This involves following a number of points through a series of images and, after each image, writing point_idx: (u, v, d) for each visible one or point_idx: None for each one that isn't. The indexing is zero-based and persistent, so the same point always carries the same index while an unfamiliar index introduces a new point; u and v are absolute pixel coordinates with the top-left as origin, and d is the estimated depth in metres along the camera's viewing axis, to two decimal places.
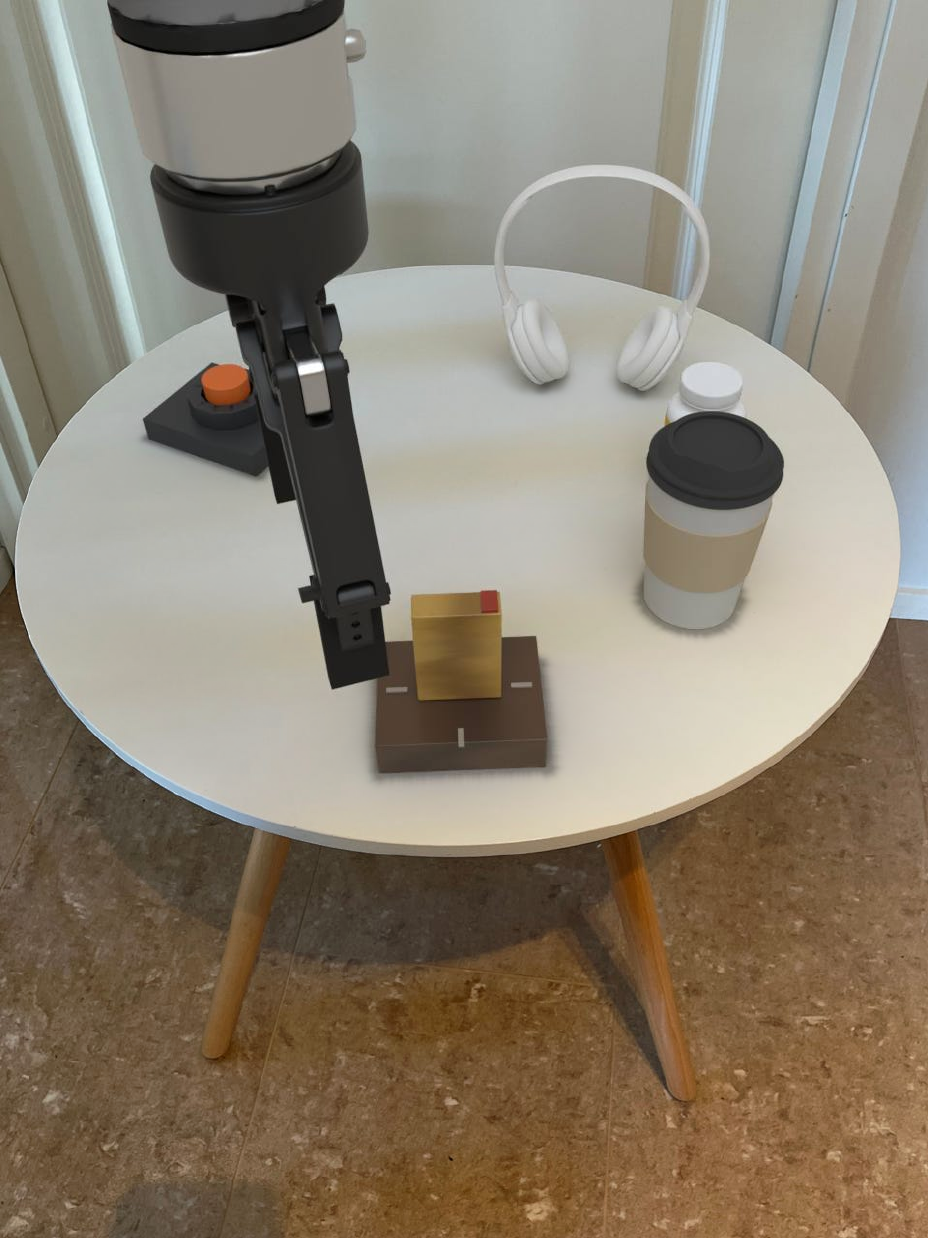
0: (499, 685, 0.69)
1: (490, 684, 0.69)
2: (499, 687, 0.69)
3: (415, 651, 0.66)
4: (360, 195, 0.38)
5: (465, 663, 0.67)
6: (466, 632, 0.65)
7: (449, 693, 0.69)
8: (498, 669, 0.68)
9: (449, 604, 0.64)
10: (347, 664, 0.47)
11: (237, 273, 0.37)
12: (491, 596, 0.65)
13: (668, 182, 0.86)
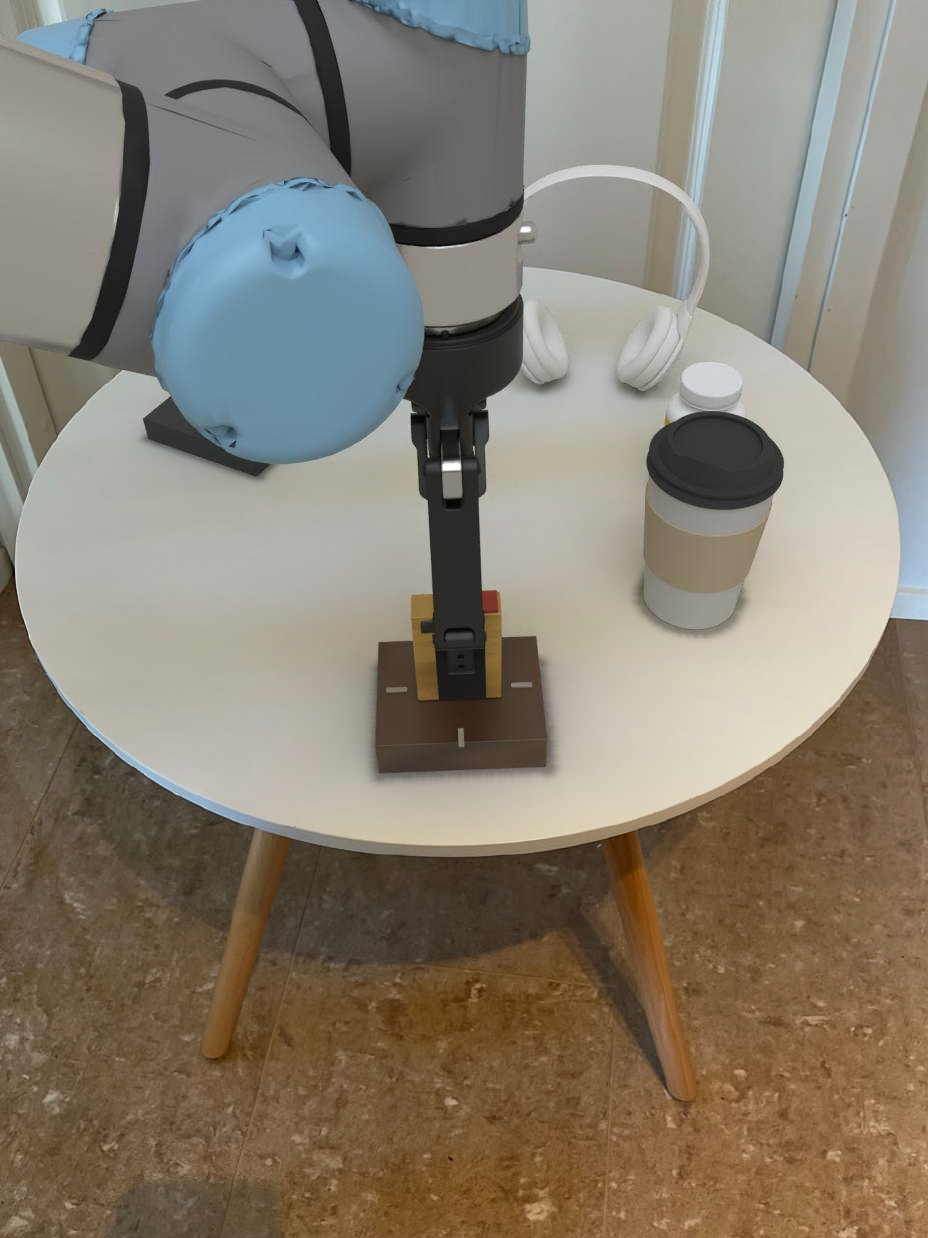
0: (499, 685, 0.69)
1: (490, 684, 0.69)
2: (499, 687, 0.69)
3: (415, 651, 0.66)
4: (516, 340, 0.49)
5: None
6: None
7: None
8: (498, 669, 0.68)
9: None
10: (453, 684, 0.59)
11: (412, 387, 0.49)
12: (491, 596, 0.65)
13: (668, 182, 0.86)
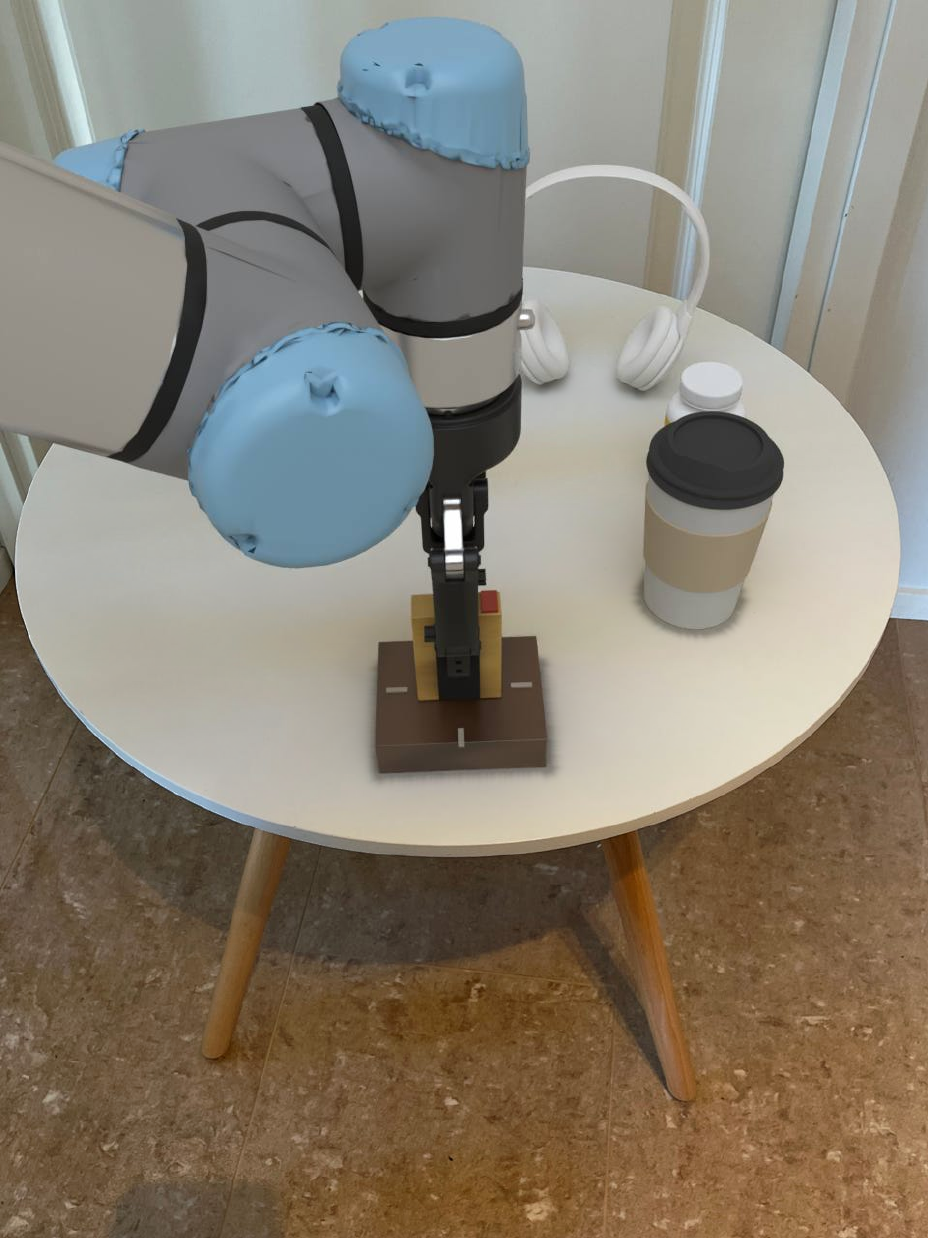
0: (499, 685, 0.69)
1: (490, 684, 0.69)
2: (499, 687, 0.69)
3: (415, 651, 0.66)
4: (514, 417, 0.52)
5: None
6: None
7: None
8: (498, 669, 0.68)
9: None
10: (451, 686, 0.67)
11: None
12: (491, 596, 0.65)
13: (668, 182, 0.86)
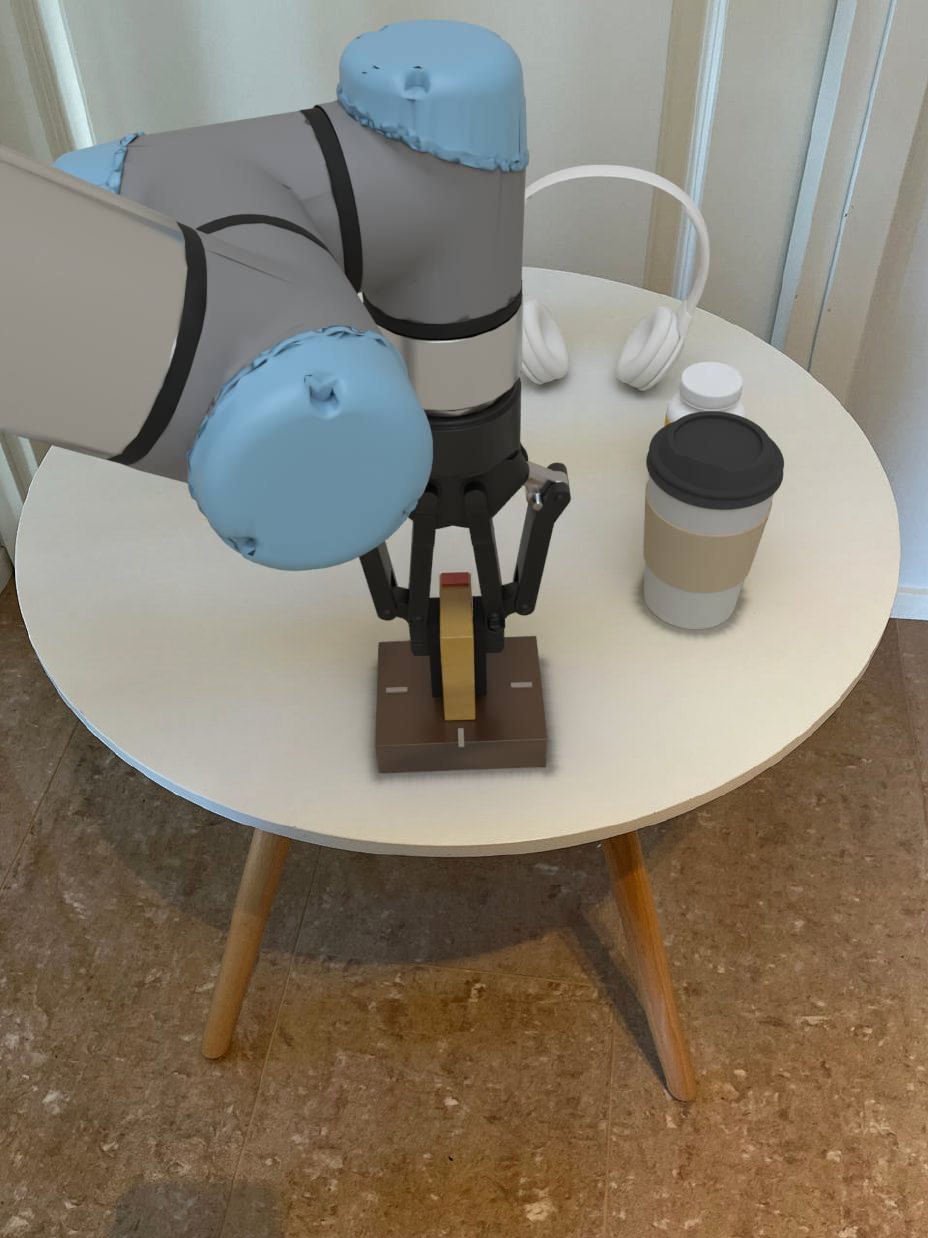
0: None
1: None
2: None
3: None
4: None
5: None
6: None
7: None
8: None
9: (456, 608, 0.64)
10: None
11: (515, 438, 0.53)
12: (450, 576, 0.66)
13: (668, 182, 0.86)
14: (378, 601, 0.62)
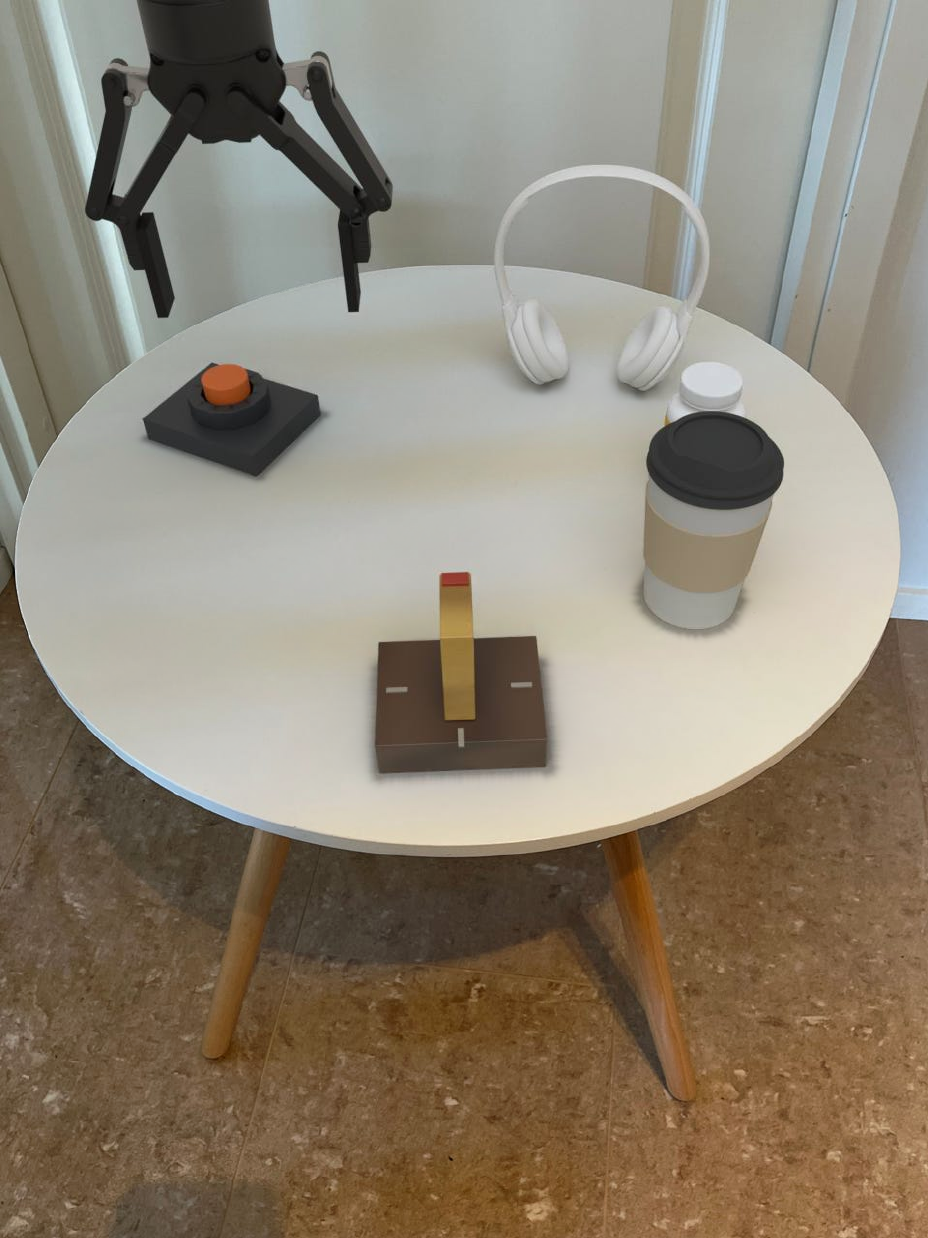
0: None
1: None
2: None
3: None
4: None
5: None
6: None
7: None
8: None
9: (456, 608, 0.64)
10: (357, 287, 0.75)
11: (261, 32, 0.61)
12: (450, 576, 0.66)
13: (668, 182, 0.86)
14: (93, 195, 0.69)
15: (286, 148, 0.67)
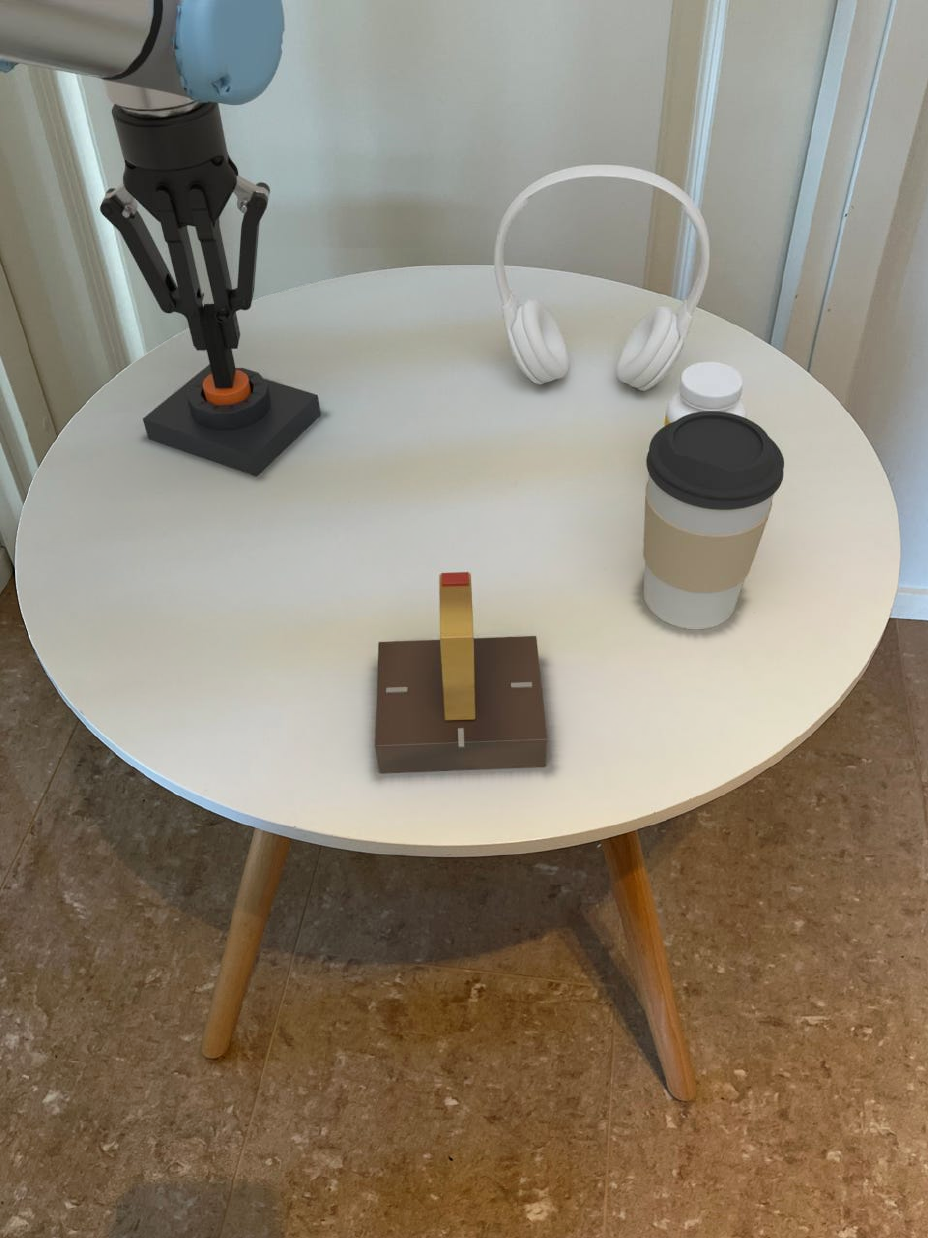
0: None
1: None
2: None
3: None
4: None
5: None
6: None
7: None
8: None
9: (456, 608, 0.64)
10: (230, 367, 0.91)
11: (215, 143, 0.76)
12: (450, 576, 0.66)
13: (668, 182, 0.86)
14: (158, 295, 0.85)
15: (205, 243, 0.82)
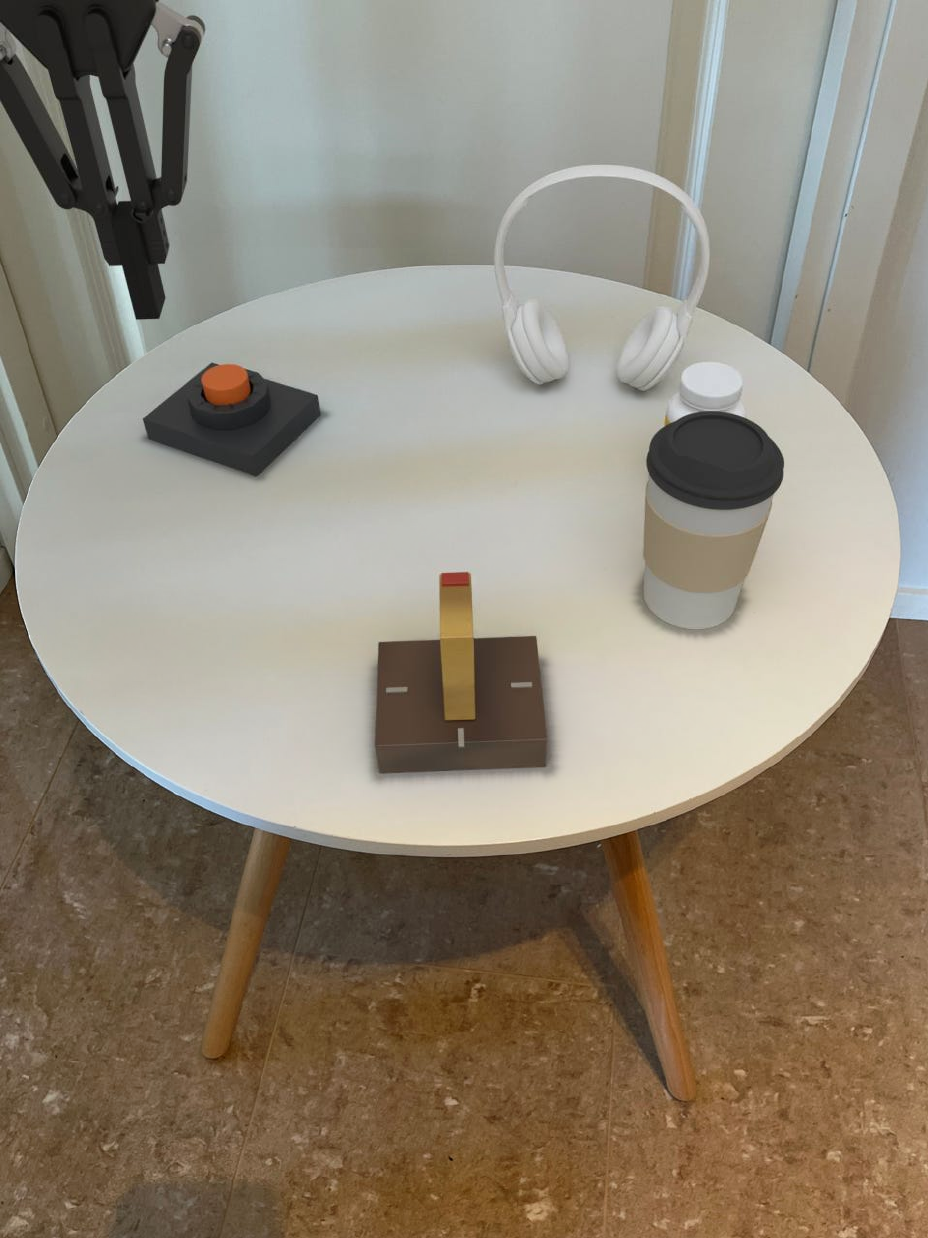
0: None
1: None
2: None
3: None
4: None
5: None
6: None
7: None
8: None
9: (456, 608, 0.64)
10: (156, 291, 0.67)
11: None
12: (450, 576, 0.66)
13: (668, 182, 0.86)
14: (50, 182, 0.61)
15: (114, 102, 0.58)
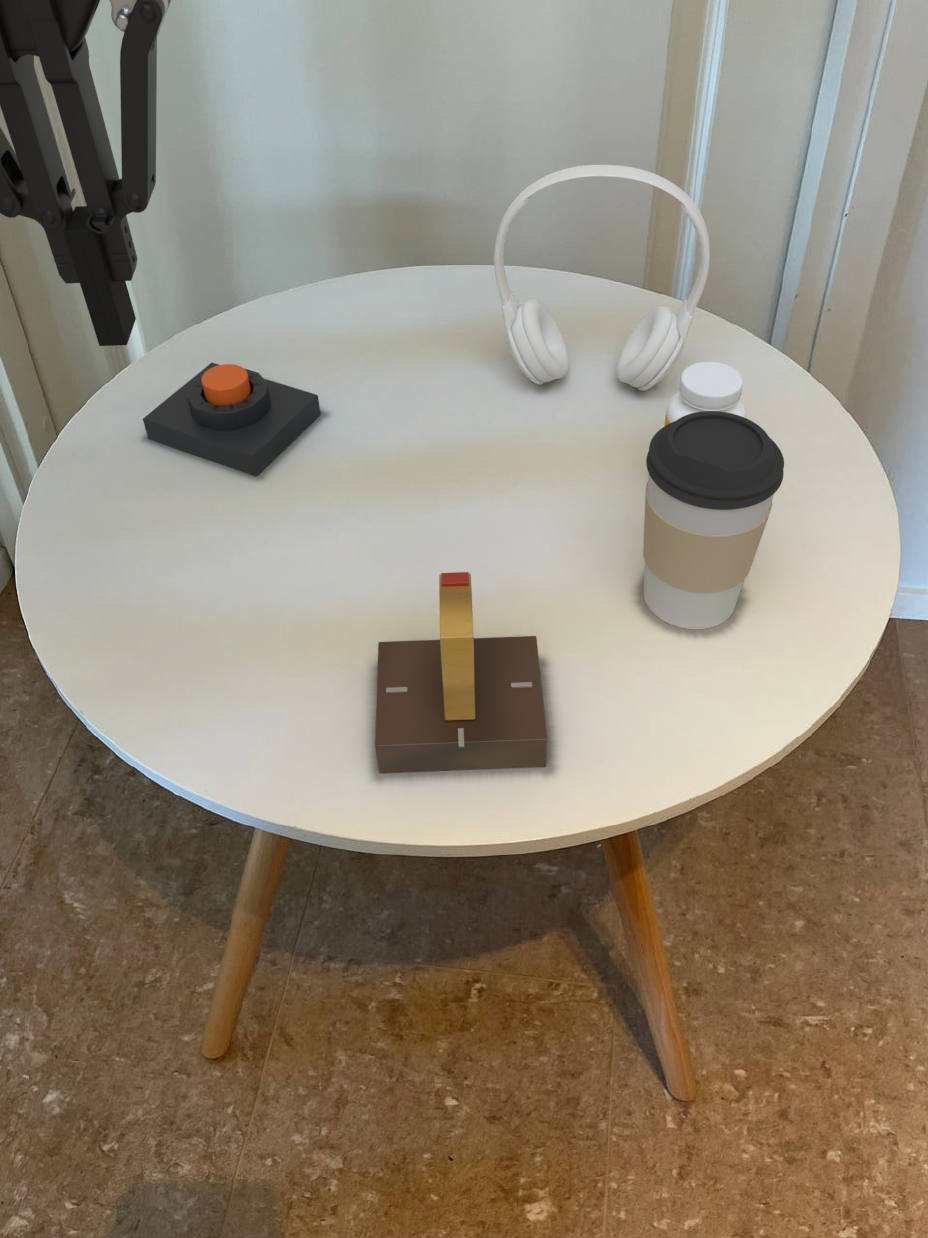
0: None
1: None
2: None
3: None
4: None
5: None
6: None
7: None
8: None
9: (456, 608, 0.64)
10: (123, 312, 0.57)
11: None
12: (450, 576, 0.66)
13: (668, 182, 0.86)
14: None
15: (61, 88, 0.48)
